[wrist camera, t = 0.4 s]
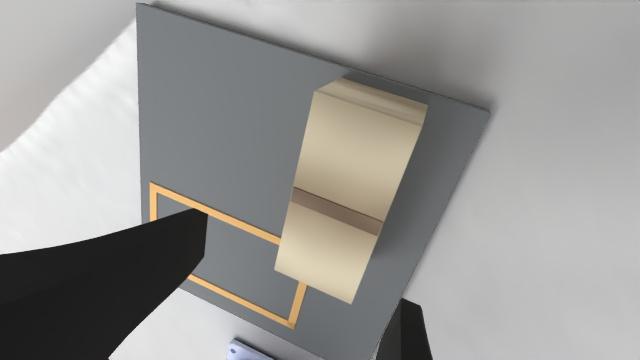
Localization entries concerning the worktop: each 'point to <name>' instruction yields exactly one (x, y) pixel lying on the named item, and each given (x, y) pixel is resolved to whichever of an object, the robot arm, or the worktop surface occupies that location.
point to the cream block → (345, 183)
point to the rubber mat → (276, 175)
